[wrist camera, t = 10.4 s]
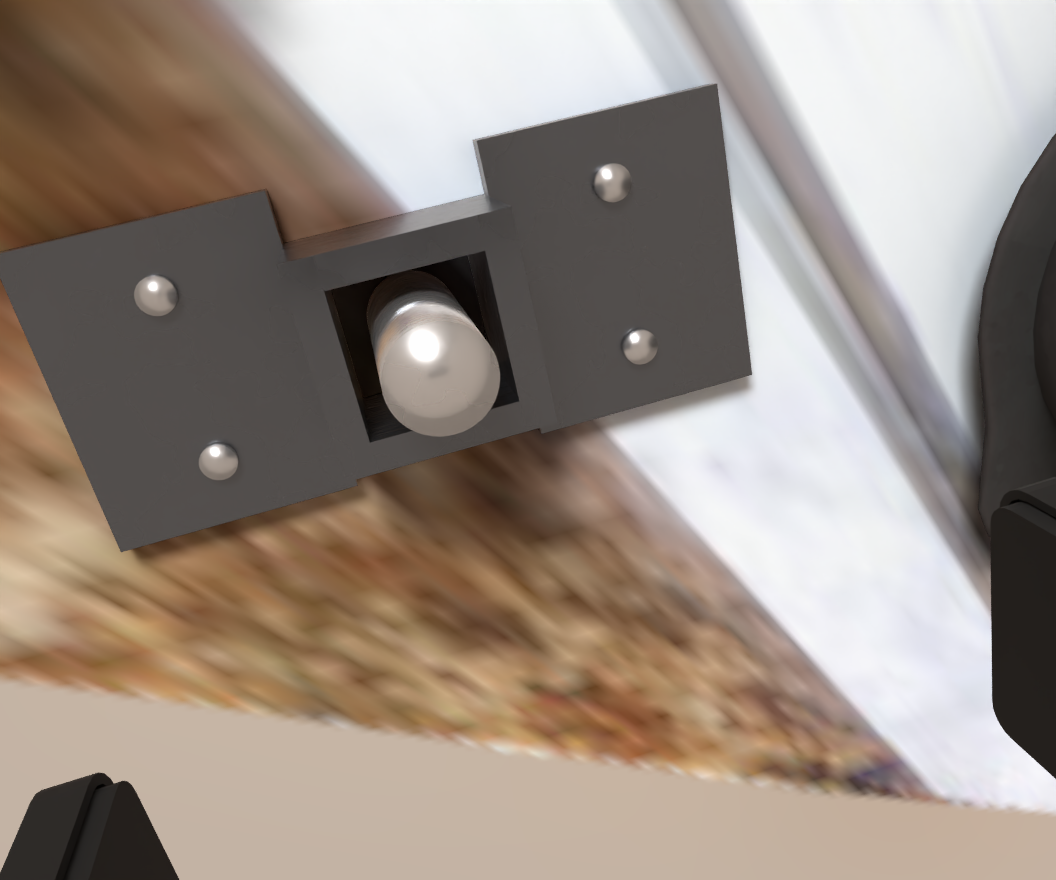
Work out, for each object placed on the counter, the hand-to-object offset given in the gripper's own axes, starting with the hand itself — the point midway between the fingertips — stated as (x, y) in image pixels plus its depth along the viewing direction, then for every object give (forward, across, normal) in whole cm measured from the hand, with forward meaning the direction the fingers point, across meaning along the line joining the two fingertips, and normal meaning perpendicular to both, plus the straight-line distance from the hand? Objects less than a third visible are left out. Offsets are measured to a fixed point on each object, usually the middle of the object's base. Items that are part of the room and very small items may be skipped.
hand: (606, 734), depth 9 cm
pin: (+22, 0, 0) cm, 22 cm away
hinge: (+22, 0, 0) cm, 22 cm away
